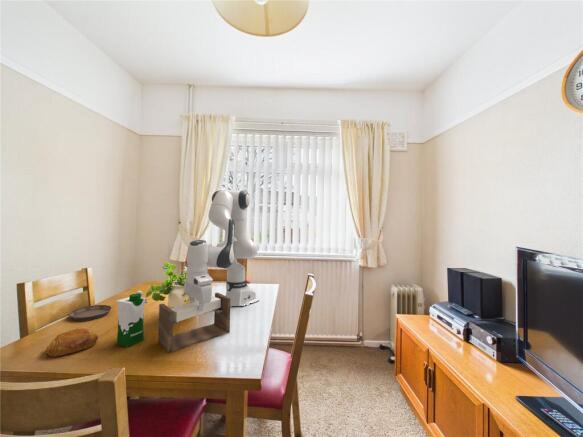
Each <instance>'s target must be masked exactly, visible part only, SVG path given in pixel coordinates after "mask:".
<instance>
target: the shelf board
mask: <svg viewBox="0 0 583 437" xmlns="http://www.w3.org/2000/svg"><path fill="white" fill-rule="evenodd" d="M198 306H199V301H197V300H195V302H192V303H190V302H188V303H185V304H181V305H179V306H175V307H174V306H173V307H169V308H170V309H171V310H173V321H174V322H177V323H178V322H182V321H185V320H187V319H190V318H193V317H197V316H199V315H202V314H206V313H208V312H211V311H212V312H213V310H215V309H218V308H221V299H219V298H216V297H215V296H211V301H210V302H209V303H205V304H204V306H203V311H198Z"/></svg>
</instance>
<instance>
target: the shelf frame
mask: <svg viewBox="0 0 583 437" xmlns="http://www.w3.org/2000/svg"><path fill="white" fill-rule="evenodd" d="M214 297H216V298H219V299H221V308H218V309H215V310H212V312H214V314H213V315H214V316H213V320H214V321H213V323H212V324H211V323H210V324H207V325H205V326H200V327H197V328H193V329H190V330H187V331H183V332H181V333H177V334H174V326H176V325H178V322H175V321H173V310H171V309H170V308H171V307H169V306H168V305H167V304H165V303H159V304H158V306H159V307H158V335H157V336H158V340H157V342H158V344H160V346H161V347H162V348H163V349H164V350H165V352H167V353H168V354H170V353H172V352H173V353H174V352H175V351H179V350H181V349H185V348H188V347H190V346H193V345H197V344H200V343H202V342H206V341H209V340H212V339H215V338H218V337H220V336H224V335H227V334H230V333H229V332H231V330H230V329H231V328H230V327H231V306H230V299H231V298H229V297H227V296H226V294H225V295H224V294H222V293H220V292H215V293H214Z"/></svg>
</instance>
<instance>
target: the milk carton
mask: <svg viewBox="0 0 583 437" xmlns="http://www.w3.org/2000/svg"><path fill="white" fill-rule="evenodd" d="M146 299H147V298H146V297H144V296H143V297H142V296H141V294H136V293H133V294H132V293H131V294H129V296H128V297H125V298H120V299H117V300H116V306H117V312H118V313H117V314H118V315H117V317H118V318H117V336H116V344H117V345H120V346H124V347H127V348H129V347H131V346H134V345H135V344H138V343H140V342H142V341H144V340H145V339H144V338H145V337H144V334H145V333H144V331H145V330H144V322H145V321H144V319H145V318H144V317H145V314H144V313H145V305H146V303H145V301H146Z"/></svg>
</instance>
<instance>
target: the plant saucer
mask: <svg viewBox="0 0 583 437" xmlns="http://www.w3.org/2000/svg"><path fill="white" fill-rule="evenodd" d="M111 310H112V306H111V305H107V304H96V305H95V304H92V305H87V306H83V307H78V308H76V309H74V310H72V311H70V312H69V313H68V315H69V317H70V318H71V319H73V320H74V321H78V322H85V321H93V320H97V319H100V318H103V317H104V316H106V315H108V314H109V313H110V311H111Z"/></svg>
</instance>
